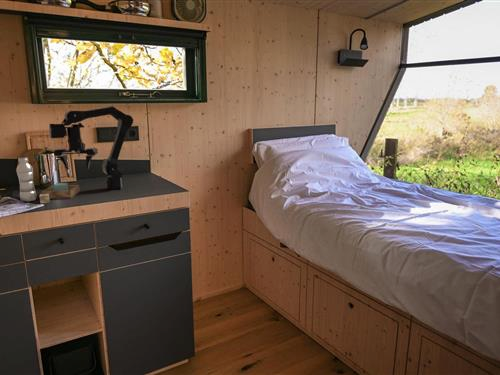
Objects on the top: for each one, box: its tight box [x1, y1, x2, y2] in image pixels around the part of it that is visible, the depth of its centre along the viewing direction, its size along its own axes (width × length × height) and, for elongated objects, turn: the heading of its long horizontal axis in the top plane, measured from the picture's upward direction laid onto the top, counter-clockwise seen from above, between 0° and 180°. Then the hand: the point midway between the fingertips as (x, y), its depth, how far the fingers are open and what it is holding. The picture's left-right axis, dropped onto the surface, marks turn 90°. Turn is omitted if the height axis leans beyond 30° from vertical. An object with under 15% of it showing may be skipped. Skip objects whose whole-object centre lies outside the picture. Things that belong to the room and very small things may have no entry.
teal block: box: [52, 182, 68, 191], centre depth 179 cm, size 5×5×5 cm
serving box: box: [40, 184, 81, 200], centre depth 179 cm, size 13×13×4 cm
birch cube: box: [39, 193, 51, 204], centre depth 167 cm, size 4×4×4 cm
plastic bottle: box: [16, 156, 37, 203], centre depth 167 cm, size 6×7×20 cm
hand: (78, 169), depth 181 cm, fingers open, 9 cm apart
